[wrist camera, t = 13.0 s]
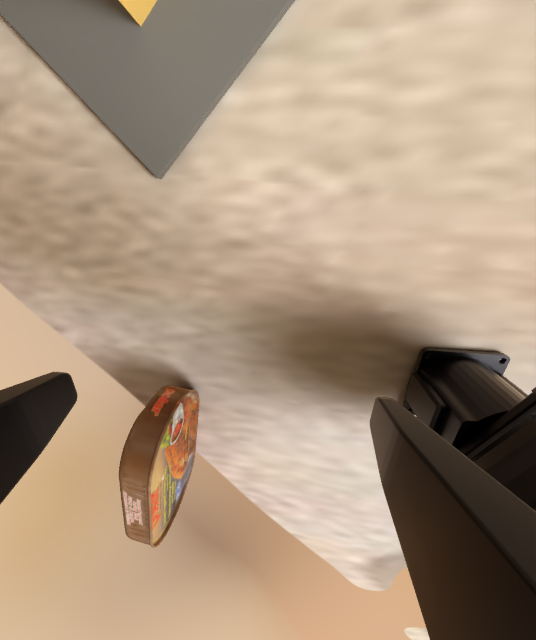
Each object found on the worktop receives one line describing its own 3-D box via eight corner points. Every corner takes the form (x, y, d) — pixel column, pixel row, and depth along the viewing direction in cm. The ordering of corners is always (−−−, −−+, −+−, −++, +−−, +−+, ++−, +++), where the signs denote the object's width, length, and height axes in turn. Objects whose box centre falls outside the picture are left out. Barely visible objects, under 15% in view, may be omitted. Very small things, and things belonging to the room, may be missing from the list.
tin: (193, 476, 30) (159, 570, 22) (166, 470, 30) (122, 563, 22) (202, 370, 23) (159, 450, 16) (168, 363, 23) (109, 440, 16)
